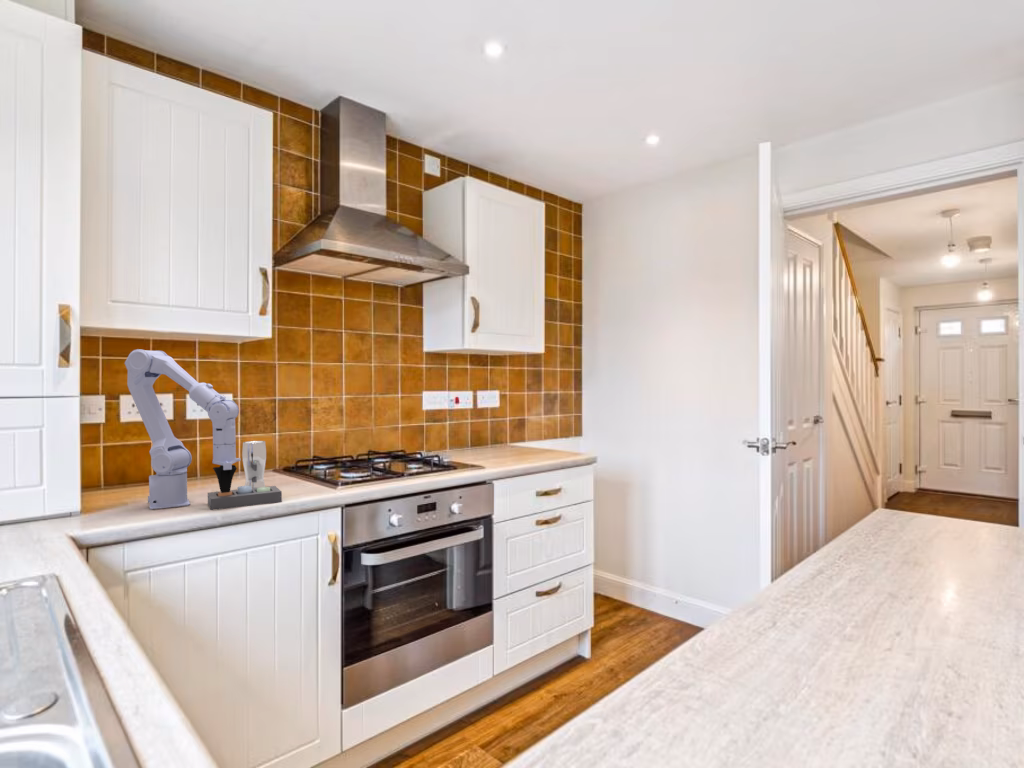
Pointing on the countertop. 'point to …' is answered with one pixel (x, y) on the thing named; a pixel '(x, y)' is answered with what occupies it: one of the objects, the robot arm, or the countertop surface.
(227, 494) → the orange button
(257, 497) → the button panel
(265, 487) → the green button
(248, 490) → the blue button
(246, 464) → the beer glass
